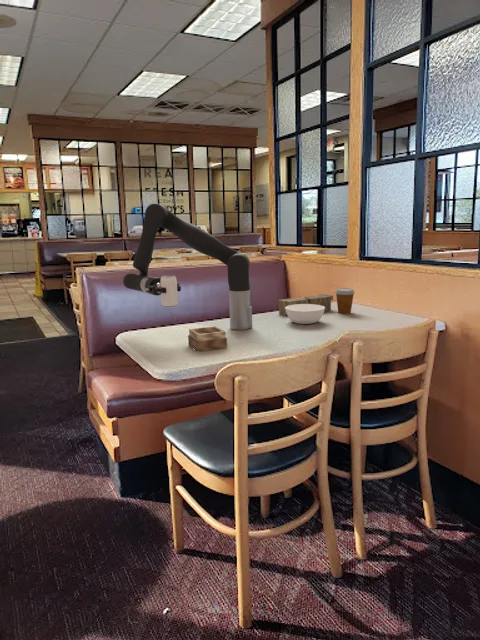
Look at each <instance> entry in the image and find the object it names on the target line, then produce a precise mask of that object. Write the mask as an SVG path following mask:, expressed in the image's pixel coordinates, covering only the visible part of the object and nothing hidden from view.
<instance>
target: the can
mask: <svg viewBox="0 0 480 640" xmlns="http://www.w3.org/2000/svg"><path fill="white" fill-rule="evenodd" d="M160 277H161V280H160V284H161V287H163V288H166V293H161V295H160V296H161V297H160V298H161V305H162V307H165V308H169V307H170V308H171V307H176V306H178V305H179V298H178V297H179V296H178V291H177V283H178V281H177V277H176V275H175V274H163V275H161V276H160Z"/></svg>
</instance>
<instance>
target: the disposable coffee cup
mask: <svg viewBox="0 0 480 640" xmlns="http://www.w3.org/2000/svg"><path fill="white" fill-rule="evenodd" d="M335 294H336V296H335V297H336V305H337V312H338V314H339V315H340V314H341V315H342V314H343V315H347V314H348V315H349V314H351V313H352V308H353V301H354V300H353V299H354V296H355V295H354V294H355V290H354V288H347V287H344V288H342V287H340V288H336V289H335Z"/></svg>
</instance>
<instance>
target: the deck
mask: <svg viewBox="0 0 480 640" xmlns="http://www.w3.org/2000/svg"><path fill="white" fill-rule="evenodd" d="M187 337H188V338H187V339H188V340H187V342H188V346H189V345H190V346H191V347H192V348H191V347H190V346H189V347H190V348H191V349H193V348H194V349H195V350H196V351H195V350H194V349H193V350H194V351H195V352H197V351H201V352H204V351H203V350H208V351H215V349H216V350H220V349H221V350H223V349H227V348H228V340H227V339H228V338H227V337H226V338H222V339H214V340H206V341H197V340H195V339H194V338H192V337H191V336H190V335H187Z"/></svg>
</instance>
